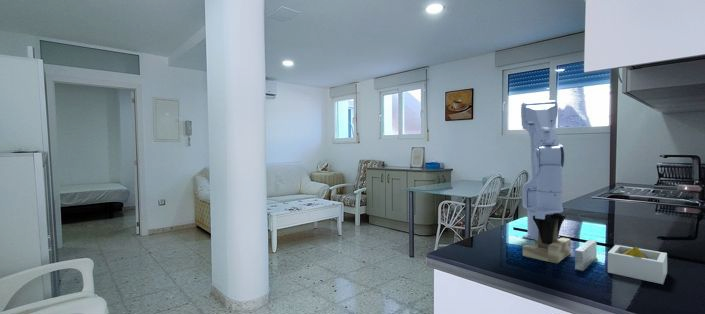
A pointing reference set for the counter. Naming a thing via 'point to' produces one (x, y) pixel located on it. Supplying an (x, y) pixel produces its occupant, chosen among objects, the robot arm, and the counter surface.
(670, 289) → the counter surface
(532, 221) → the robot arm
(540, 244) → the peg
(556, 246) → the cradle
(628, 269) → the holder
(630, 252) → the yellow tapered piece
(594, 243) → the rail
